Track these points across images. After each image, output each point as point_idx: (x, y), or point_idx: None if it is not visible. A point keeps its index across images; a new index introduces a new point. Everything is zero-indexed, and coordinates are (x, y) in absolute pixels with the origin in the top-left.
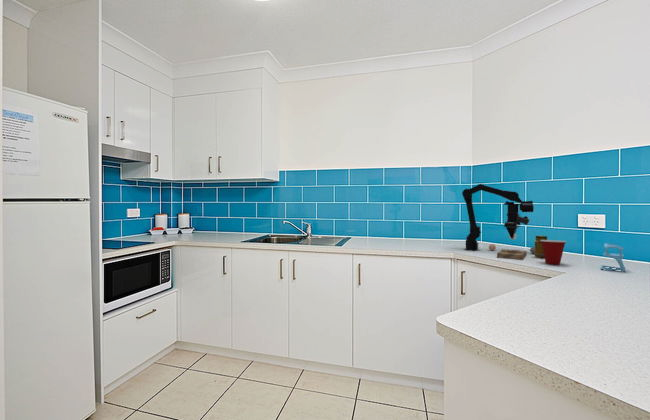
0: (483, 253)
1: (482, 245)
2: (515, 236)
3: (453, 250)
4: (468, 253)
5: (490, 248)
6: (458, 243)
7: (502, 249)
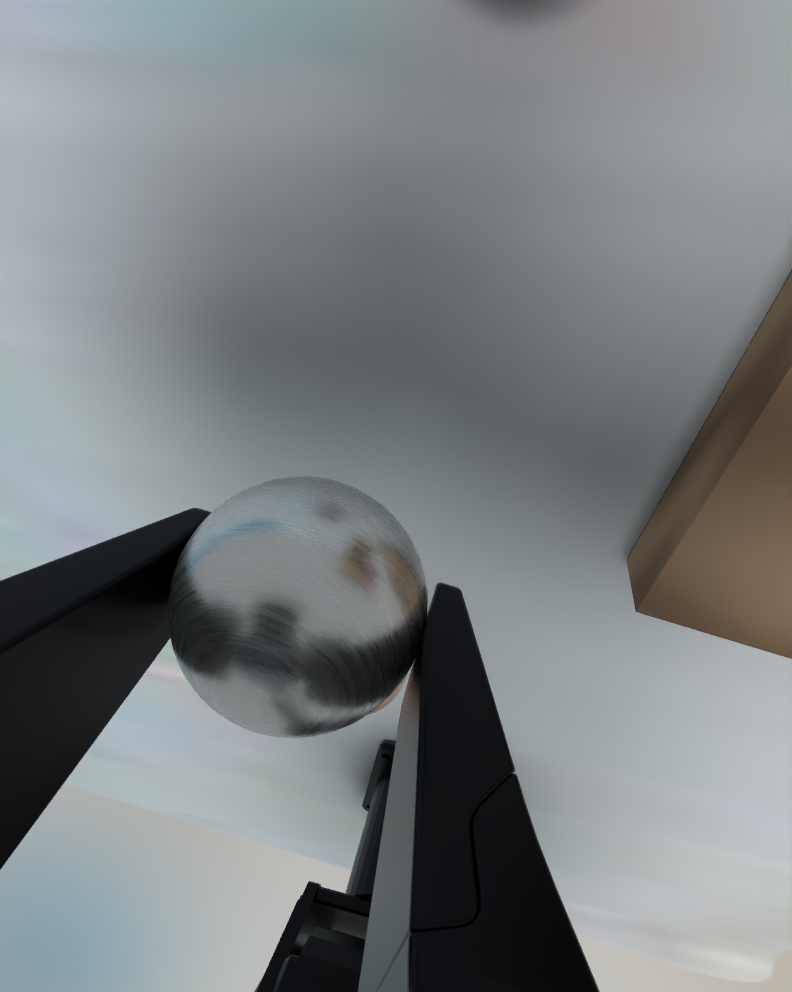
0: (692, 760)
1: None
2: (386, 550)
3: None
4: (720, 869)
5: None
6: (76, 777)
7: (685, 620)
